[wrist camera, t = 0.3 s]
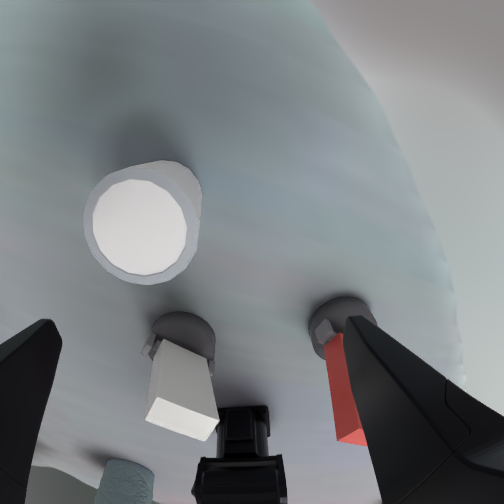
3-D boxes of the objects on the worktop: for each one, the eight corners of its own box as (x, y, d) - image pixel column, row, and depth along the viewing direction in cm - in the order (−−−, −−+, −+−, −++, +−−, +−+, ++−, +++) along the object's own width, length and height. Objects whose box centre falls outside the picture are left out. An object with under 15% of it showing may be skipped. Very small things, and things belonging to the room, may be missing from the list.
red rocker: (355, 356, 27) (374, 448, 18) (318, 339, 25) (331, 441, 17) (372, 342, 26) (397, 436, 17) (335, 323, 24) (356, 427, 16)
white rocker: (198, 373, 26) (209, 443, 17) (151, 351, 25) (140, 417, 16) (208, 355, 26) (224, 421, 17) (160, 333, 25) (152, 394, 16)
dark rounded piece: (343, 356, 29) (352, 381, 26) (294, 334, 28) (300, 360, 25) (382, 313, 27) (397, 336, 24) (336, 285, 26) (348, 309, 23)
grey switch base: (198, 369, 29) (195, 396, 26) (141, 343, 28) (132, 369, 25) (228, 331, 27) (227, 358, 24) (165, 300, 26) (156, 325, 23)
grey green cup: (133, 455, 38) (119, 519, 27) (171, 480, 42) (164, 538, 31) (92, 457, 39) (76, 513, 28) (129, 482, 43) (120, 533, 32)
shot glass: (150, 254, 24) (122, 301, 18) (107, 178, 21) (62, 204, 15) (227, 218, 23) (221, 258, 17) (185, 134, 20) (161, 142, 14)
